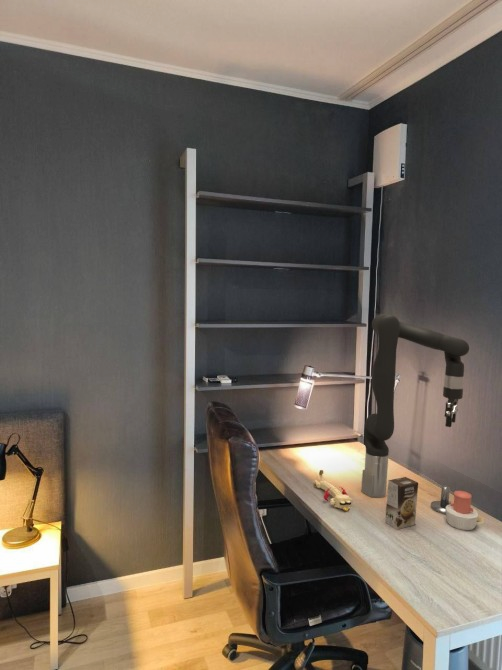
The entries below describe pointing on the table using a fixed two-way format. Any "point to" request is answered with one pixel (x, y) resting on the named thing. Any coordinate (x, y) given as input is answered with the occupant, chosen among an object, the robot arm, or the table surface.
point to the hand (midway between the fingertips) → (450, 424)
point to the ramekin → (461, 518)
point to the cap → (462, 502)
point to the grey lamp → (442, 501)
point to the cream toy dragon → (334, 494)
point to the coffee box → (401, 502)
